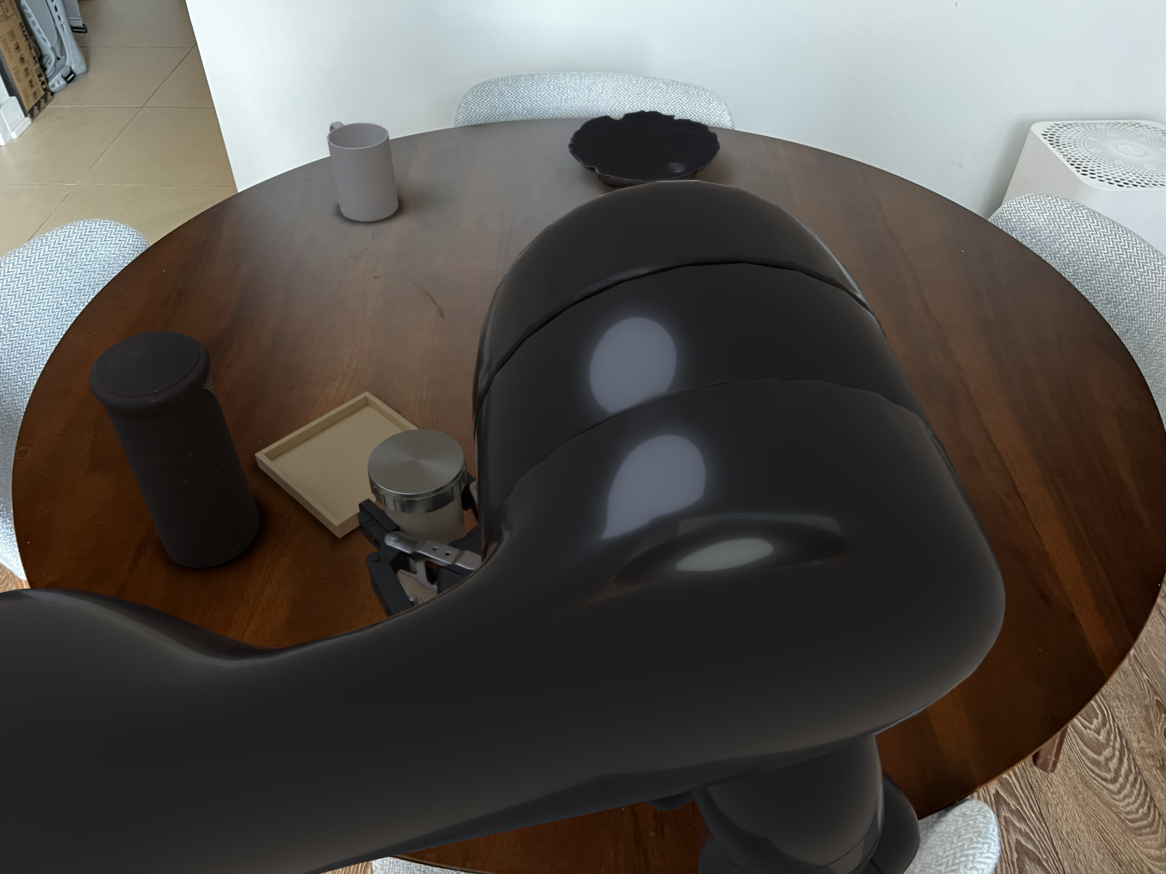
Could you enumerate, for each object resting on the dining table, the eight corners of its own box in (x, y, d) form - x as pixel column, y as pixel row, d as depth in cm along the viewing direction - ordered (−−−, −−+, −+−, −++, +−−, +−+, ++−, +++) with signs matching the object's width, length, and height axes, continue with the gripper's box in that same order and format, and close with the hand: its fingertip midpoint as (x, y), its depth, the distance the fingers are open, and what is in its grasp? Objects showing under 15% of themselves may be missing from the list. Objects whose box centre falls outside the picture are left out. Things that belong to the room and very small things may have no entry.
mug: (409, 211, 125) (399, 138, 117) (356, 228, 121) (343, 154, 114) (368, 177, 132) (357, 106, 125) (317, 193, 128) (303, 120, 121)
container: (278, 500, 85) (223, 324, 71) (242, 576, 78) (174, 398, 64) (188, 493, 85) (116, 317, 72) (145, 568, 79) (57, 389, 65)
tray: (339, 538, 81) (336, 526, 80) (258, 466, 88) (254, 454, 87) (452, 464, 88) (450, 451, 87) (369, 403, 95) (367, 390, 94)
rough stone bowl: (725, 210, 126) (730, 176, 122) (568, 210, 125) (568, 175, 122) (707, 141, 142) (711, 109, 139) (567, 140, 142) (567, 108, 138)
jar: (429, 615, 61) (410, 506, 54) (384, 575, 64) (360, 466, 57) (485, 573, 64) (473, 465, 57) (439, 537, 66) (423, 428, 59)
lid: (411, 530, 54) (407, 510, 53) (351, 481, 58) (346, 461, 56) (486, 479, 58) (484, 459, 57) (426, 436, 61) (423, 415, 60)
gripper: (662, 534, 53) (480, 399, 62) (466, 680, 45) (292, 502, 55) (655, 614, 58) (487, 478, 67) (477, 757, 50) (316, 582, 60)
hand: (400, 489), depth 61 cm, fingers closed on jar, 5 cm apart
